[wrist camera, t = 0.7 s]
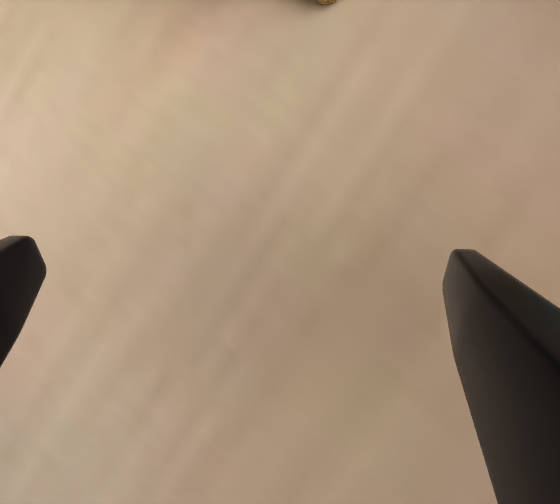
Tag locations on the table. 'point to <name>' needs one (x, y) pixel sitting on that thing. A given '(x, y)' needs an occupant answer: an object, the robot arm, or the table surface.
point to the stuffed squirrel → (326, 1)
